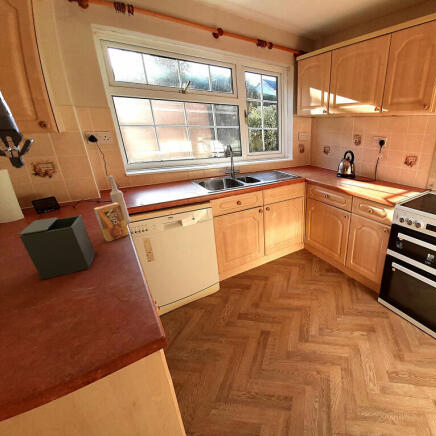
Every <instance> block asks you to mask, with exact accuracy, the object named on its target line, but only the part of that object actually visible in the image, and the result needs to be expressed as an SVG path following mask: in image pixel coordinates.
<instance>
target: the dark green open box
mask: <svg viewBox="0 0 436 436" xmlns="http://www.w3.org/2000/svg"><path fill="white" fill-rule="evenodd" d="M19 238H20V240H21V242H22V244H23V246H24V248H25V250H26V252H27V254H28V256H29V258H30V260H31V262H32V264H33V265H34V268H35V270H36V271H37V273H38V275H39V277H40V279H41V280H46V279H51V278H55V277H59V276H63V275H69V274H72V273H75V272H80V271H84V270H88V269H90V267H91V265H92V263H93V261H94V257H95V256H96V251H95V248H94V245H93V243H92V241H91V238H90V235H89V232H88V231H87V228H86V225H85V223H84V220H83V217H82V216H81V215H74V216H69V217H68V216H67V217H62V218H61V217H60V218H58V219H57V220H56V221H55V222H54V223H53V224H52V225H51V226H50V227H49V228H48V229H47V230H46V231H41V232H35V233H30V234H24V235H19Z"/></svg>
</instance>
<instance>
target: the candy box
mask: <svg viewBox="0 0 436 436" xmlns="http://www.w3.org/2000/svg"><path fill="white" fill-rule="evenodd" d="M93 211H94V214H95V216H96V219H97V222H98V224H99V227H100V230H101V233H102V235H103V239H104V240H105V241H106V242H108V243H109V242H111V241H114V240H115V241H116V240H117V239H120V238H123V237H126V236H128V235H130V232H129V229H128V224H126V222H125V219H124V216H123V213H122V210H121V206H120V204H118V203H113V202H112V203H110V204H109V203H108V204H105V205H102V206H97V207H94V208H93Z"/></svg>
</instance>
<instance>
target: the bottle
mask: <svg viewBox="0 0 436 436" xmlns="http://www.w3.org/2000/svg"><path fill="white" fill-rule="evenodd" d="M107 177H108V181H109V183H110V186H111V191H110V193H109V196H110V199H111V201H112V204H113V203H118V204H120V206H121V210H122V213H123V216H124V219H125V222H126V225H129V224H131V223H132V220H131V218H130V215H129V211H128V208H127V205H126V200H125V198H124V193H123V192H122V191H121V190H119V188H117V187H118V186H117V184H116V181H115V178H114V175H108V176H107Z"/></svg>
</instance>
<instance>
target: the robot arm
mask: <svg viewBox="0 0 436 436" xmlns="http://www.w3.org/2000/svg"><path fill="white" fill-rule="evenodd" d="M2 93H3V92H2V91H1V89H0V157H6V158H8V160H9V162H10V164H11V166H12V167H13V168H15V169H23V168H25V166H26V163H25V161H24V159H23V156H24V155H27V154H28V153H29V150H30V149H31V148H32V145H33V144H34V142H35V141H34V139H32V138H28V137H26V136H24V134H23V133H22V132H20V130H19V127H18V125H17V123H16V121H15V118H14V115H13V113H12V111H11V109H10V107H9V105H8V104H7V103H8V102H6V100H5V97H4V96H3V94H2ZM21 143H23V145H22V147H20V145H21Z"/></svg>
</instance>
